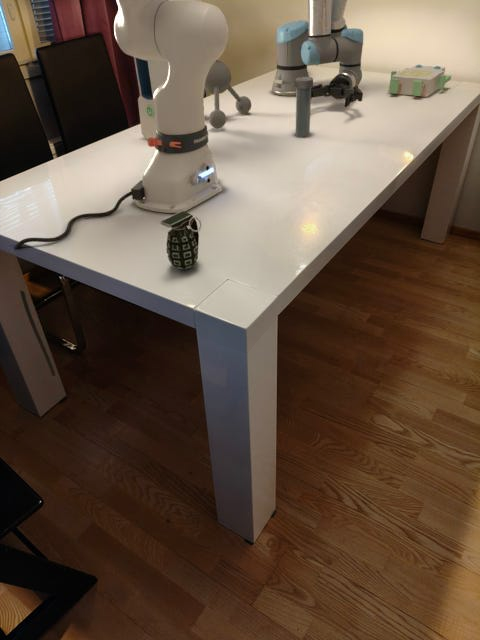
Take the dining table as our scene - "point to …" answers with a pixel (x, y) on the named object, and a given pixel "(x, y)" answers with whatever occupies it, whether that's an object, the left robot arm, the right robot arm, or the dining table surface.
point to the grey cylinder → (303, 112)
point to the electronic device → (149, 92)
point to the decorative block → (418, 80)
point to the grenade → (182, 240)
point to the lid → (304, 82)
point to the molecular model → (218, 84)
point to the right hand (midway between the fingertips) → (325, 101)
